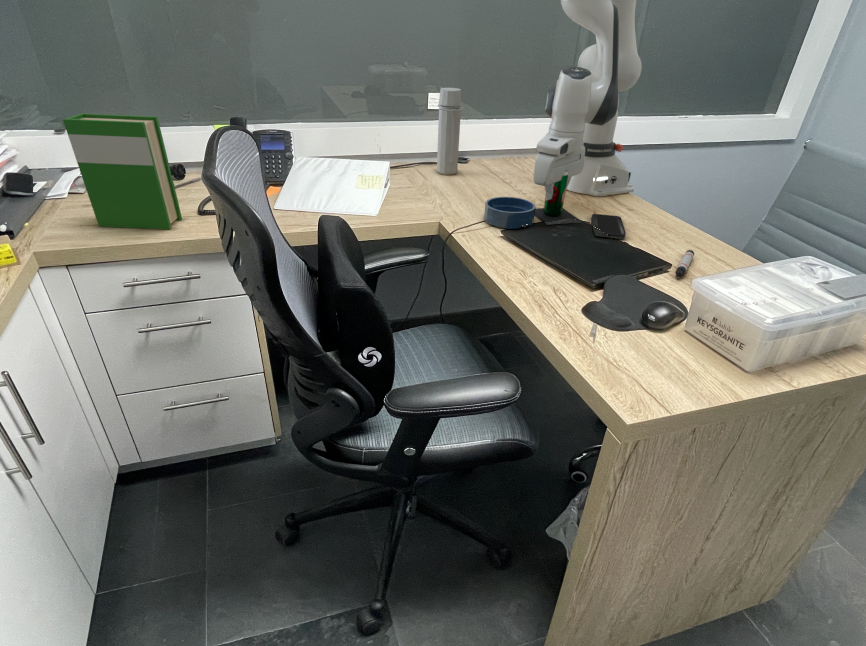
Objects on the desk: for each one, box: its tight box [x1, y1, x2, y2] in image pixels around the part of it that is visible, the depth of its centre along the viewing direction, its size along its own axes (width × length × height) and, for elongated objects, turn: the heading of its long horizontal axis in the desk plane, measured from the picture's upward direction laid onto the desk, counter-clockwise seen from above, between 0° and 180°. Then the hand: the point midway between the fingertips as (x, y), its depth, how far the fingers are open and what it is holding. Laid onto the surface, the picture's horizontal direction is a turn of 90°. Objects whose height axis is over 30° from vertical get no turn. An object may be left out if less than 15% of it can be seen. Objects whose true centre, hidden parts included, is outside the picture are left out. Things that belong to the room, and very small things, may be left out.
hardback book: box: [62, 112, 183, 230], centre depth 129 cm, size 18×7×24 cm, turn 88°
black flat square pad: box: [534, 207, 581, 224], centre depth 149 cm, size 10×12×1 cm
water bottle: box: [436, 87, 464, 176], centre depth 174 cm, size 9×8×25 cm
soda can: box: [543, 170, 569, 217], centre depth 145 cm, size 5×5×12 cm
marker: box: [674, 249, 695, 279], centre depth 122 cm, size 15×2×2 cm, turn 150°
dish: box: [483, 196, 537, 230], centre depth 144 cm, size 13×13×4 cm
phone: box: [590, 213, 627, 240], centre depth 142 cm, size 8×1×15 cm
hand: (555, 196), depth 146 cm, fingers closed on soda can, 5 cm apart
